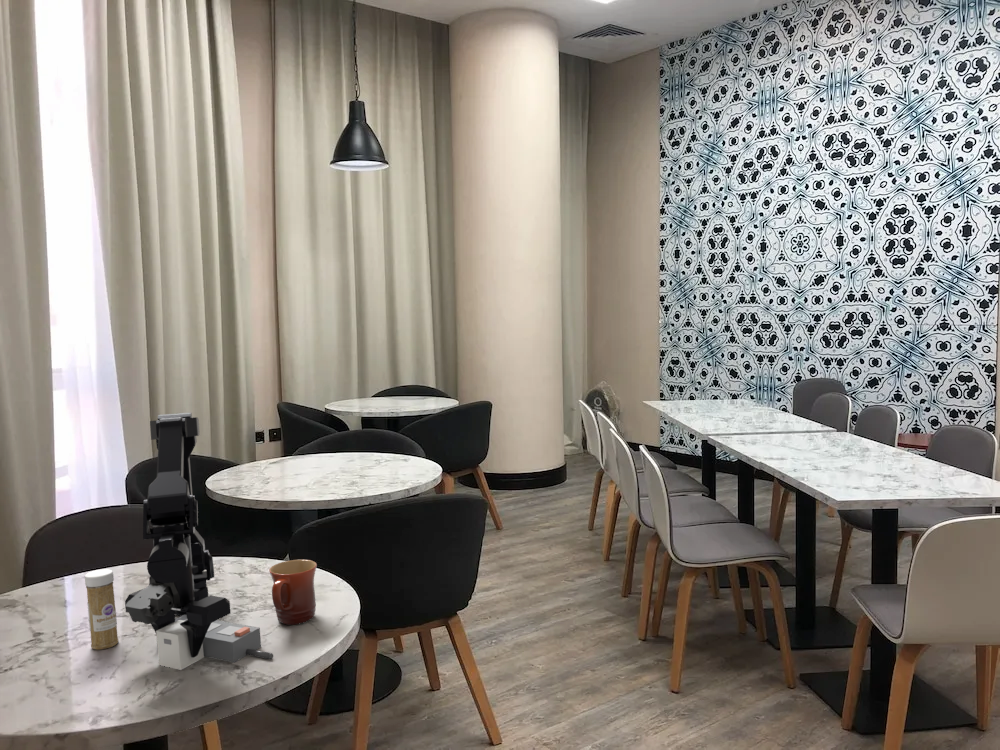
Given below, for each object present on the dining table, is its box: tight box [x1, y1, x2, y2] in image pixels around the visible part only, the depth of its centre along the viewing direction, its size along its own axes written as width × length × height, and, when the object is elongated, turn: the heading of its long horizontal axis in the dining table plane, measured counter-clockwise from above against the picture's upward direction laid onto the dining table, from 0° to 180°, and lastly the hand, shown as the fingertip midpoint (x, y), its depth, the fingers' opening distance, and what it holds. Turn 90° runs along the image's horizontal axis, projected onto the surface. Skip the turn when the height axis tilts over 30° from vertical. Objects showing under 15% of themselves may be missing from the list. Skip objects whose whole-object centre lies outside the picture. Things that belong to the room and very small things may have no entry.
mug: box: [269, 559, 318, 626], centre depth 149 cm, size 12×9×10 cm
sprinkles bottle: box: [84, 568, 120, 651], centre depth 143 cm, size 5×5×13 cm
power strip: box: [155, 615, 274, 663], centre depth 139 cm, size 24×6×4 cm, turn 65°
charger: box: [155, 620, 205, 671], centre depth 136 cm, size 5×8×6 cm, turn 155°
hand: (181, 653), depth 135 cm, fingers open, 6 cm apart
